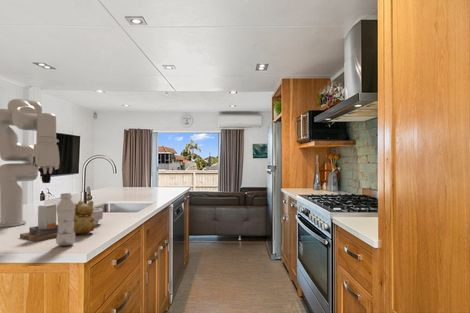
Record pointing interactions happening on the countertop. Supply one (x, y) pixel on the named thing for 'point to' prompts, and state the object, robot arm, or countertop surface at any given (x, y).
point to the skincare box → (46, 216)
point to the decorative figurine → (83, 218)
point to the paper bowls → (97, 214)
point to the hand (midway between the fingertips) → (46, 182)
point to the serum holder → (40, 233)
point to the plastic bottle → (65, 221)
